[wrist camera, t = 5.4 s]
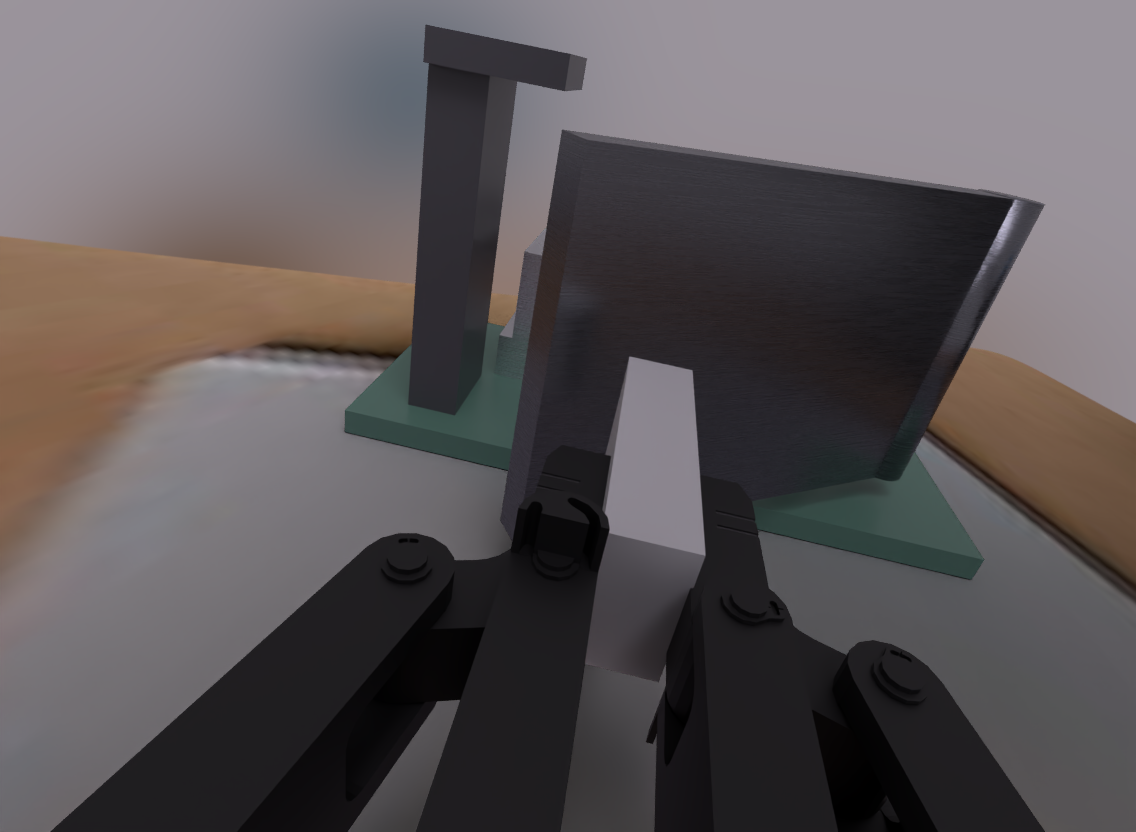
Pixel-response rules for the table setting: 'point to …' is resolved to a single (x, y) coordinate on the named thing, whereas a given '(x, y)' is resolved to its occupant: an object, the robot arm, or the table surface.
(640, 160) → the dark grey rectangular panel
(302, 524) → the table surface
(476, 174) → the dark grey capped post
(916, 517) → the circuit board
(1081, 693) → the table surface
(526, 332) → the heat sink
